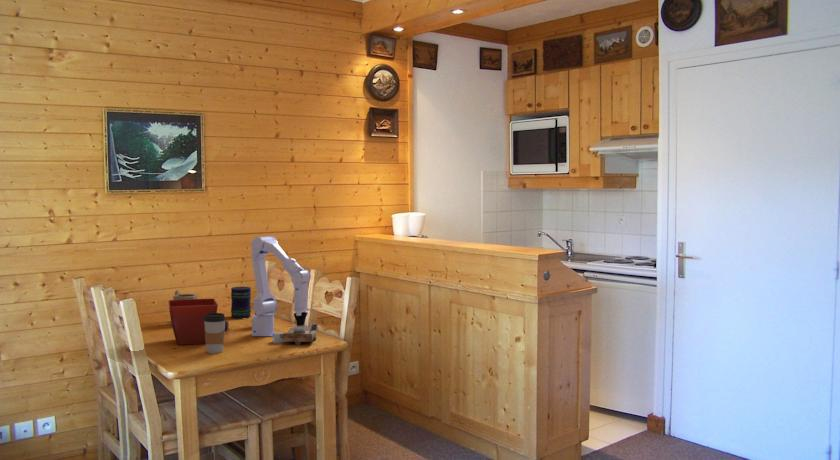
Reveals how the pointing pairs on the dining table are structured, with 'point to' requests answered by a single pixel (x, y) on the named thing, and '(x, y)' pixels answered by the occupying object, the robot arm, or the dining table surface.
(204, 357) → the dining table surface
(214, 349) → the coffee cup
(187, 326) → the plant pot
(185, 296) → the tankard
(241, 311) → the storage jar
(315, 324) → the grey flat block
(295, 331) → the rider
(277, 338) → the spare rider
